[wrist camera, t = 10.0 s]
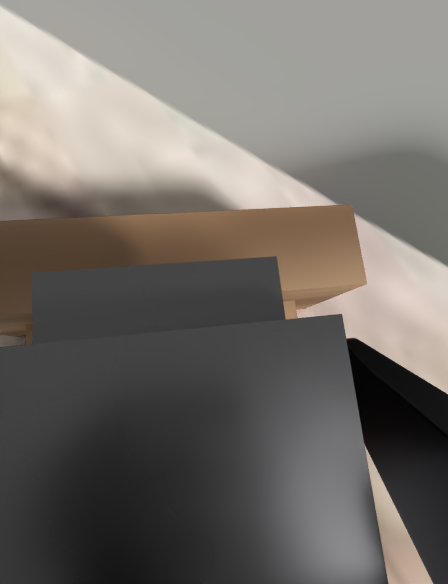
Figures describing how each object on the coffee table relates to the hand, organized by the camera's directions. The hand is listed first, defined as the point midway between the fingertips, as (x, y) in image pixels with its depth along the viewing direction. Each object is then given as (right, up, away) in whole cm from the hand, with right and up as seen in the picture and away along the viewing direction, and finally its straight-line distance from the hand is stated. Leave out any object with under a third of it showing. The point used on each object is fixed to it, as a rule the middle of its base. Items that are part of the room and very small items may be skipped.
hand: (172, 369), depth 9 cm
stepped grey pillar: (-1, -3, +8) cm, 8 cm away
